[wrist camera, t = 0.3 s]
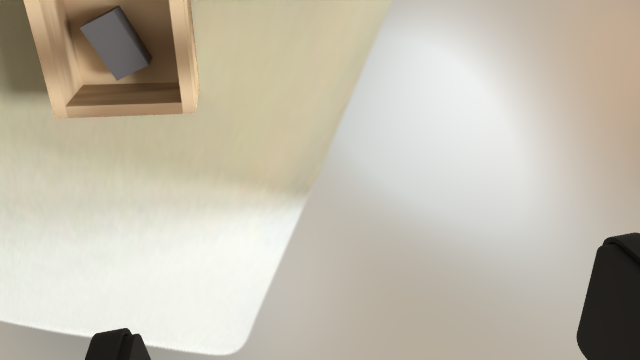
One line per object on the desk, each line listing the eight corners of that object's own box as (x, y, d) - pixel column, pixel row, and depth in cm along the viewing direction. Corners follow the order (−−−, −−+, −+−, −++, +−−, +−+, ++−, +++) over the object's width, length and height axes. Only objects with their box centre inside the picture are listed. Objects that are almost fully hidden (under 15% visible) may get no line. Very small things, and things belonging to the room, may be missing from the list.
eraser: (87, 21, 33) (79, 27, 32) (119, 5, 33) (112, 10, 31) (122, 72, 35) (117, 81, 34) (152, 57, 35) (148, 65, 33)
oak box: (44, -39, 32) (15, -30, 27) (186, -38, 33) (179, -29, 29) (76, 93, 36) (54, 118, 32) (199, 89, 37) (195, 113, 33)
